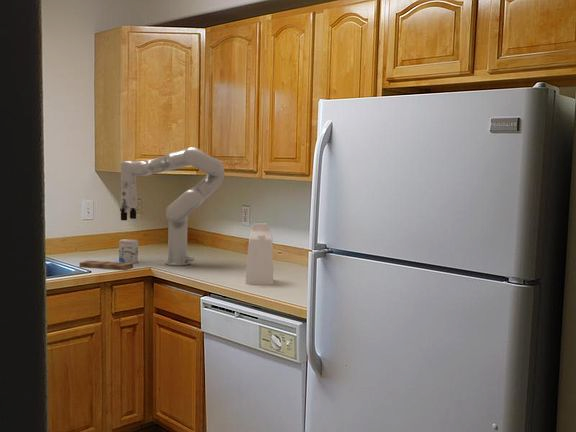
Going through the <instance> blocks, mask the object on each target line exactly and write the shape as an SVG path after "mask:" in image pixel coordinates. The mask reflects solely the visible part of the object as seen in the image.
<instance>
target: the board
mask: <svg viewBox="0 0 576 432" xmlns="http://www.w3.org/2000/svg"><path fill="white" fill-rule="evenodd" d="M80 267H81V268H90V269H105V270H119V271H120V270H121V271H127V270H130V269H132V268H134V264H133V263H122V262H119V261H106V260H93V259H92V260H91V259H90V260H88V259H87V260H84V261H80V262H79V268H80Z"/></svg>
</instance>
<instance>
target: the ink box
mask: <svg viewBox="0 0 576 432" xmlns="http://www.w3.org/2000/svg"><path fill="white" fill-rule="evenodd" d="M118 244H119V245H118V262H122V263H133V265H135V264H138V263H139V240H138V239H130V238H124V239H119V241H118Z"/></svg>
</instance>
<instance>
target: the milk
mask: <svg viewBox="0 0 576 432" xmlns="http://www.w3.org/2000/svg"><path fill="white" fill-rule="evenodd" d="M273 242H274V241H273V235H272V231H271V228H270V226H269V223H268V222H267V223H264V222H263V223H260V222H257V223H256V222H254V224H253V225H252V228H251V230H250V234H249V239H248V244H247V259H246V271H245V272H246V273H245V285H267V286H268V285H271V286H274V254H273V253H274V249H273V248H274V245H273Z"/></svg>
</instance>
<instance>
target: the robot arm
mask: <svg viewBox="0 0 576 432" xmlns="http://www.w3.org/2000/svg"><path fill="white" fill-rule="evenodd" d="M189 166H192V167H194V168H196V169H198V170H200V171H201V172H203V173H205V174H206V175H205V177H204V178H202V179H201V180H200V181H199V182H198V183H197V184H195V185H194V186H193V187H191V188H189V189H187V190H185V191H184V192H183V193H181V194H180V196H178V197H177V198H176V199H175V200H174V201H172V202H171V203H170V204H169V205H167V207H166V210H165V217H166V218H167V220H168V229H167V230H168V234H167V237H168V238H167V240H168V242H167V260H165V261H164V264H165V265H167V266H187V265H190V264H191V262H195V257H193V256H191V257H190V255H189V254H188V223H189V215H190V214H191V213H192V212H193V211H194V210H196V209H197V208H198V207H199V206H201V205H202V203H204V201H205V200H206V199H207V198H209V197H210V196H211V195H212V194H213V193H214V192H216V190H218V188H220V186H221V185H222V184H223V181H224V179H225V167H224V164H223V162H222V161H221V159H219V158H216V157H213V156H211V155H209V154H207V153H205V152H204V151H202V150H201V149H199V148H198V147H195V146H190V147H188V148H184V149H180V150H176V151H172V152H169V153H166V154H165V155H163V156H159V157H157V158H156V157H155V158H152V159H148V160H139V161H133V160H123V161H121V162H120V189H121V191H120V199H119V200H120V203H119V204H118V206H119V210H120V211H119V212H120V221H127V220H128V212H127V211H128V209H129V219H130V220H131V219H133V220H134V219H135V220H136V219H137V208H138V206H139V205H138V193H137V192H138V191H137V176H141V177H144V176H145V177H147V176H151V175H155V174H159V173H163V172H168V171H173V170H177V169H182V168H185V167H189Z"/></svg>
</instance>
